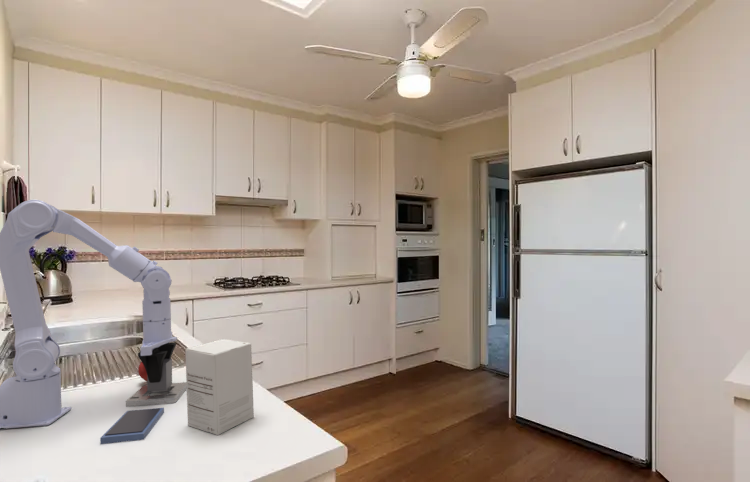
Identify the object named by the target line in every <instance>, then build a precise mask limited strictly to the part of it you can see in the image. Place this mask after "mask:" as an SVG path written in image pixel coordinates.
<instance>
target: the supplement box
mask: <svg viewBox="0 0 750 482" xmlns="http://www.w3.org/2000/svg"><path fill="white" fill-rule="evenodd" d="M184 350H185V351H184V352H185V374H186V375H185V377H186V381H185V382H186V383H187V389H186V408H187V426H188V427H191V428H195V429H197V430H201V431H204V432H207V433H209V434H213V435H217V436H219V435H221V434H222V433H224V432H227V431H229V430H231V429H232V428H235V427H236V426H238V425H240V424H243V423H244V422H246V421H249V420H251V419H252V418H254V417H255V415H254V414H255V413H254V411H255V410H254V409H255V408H254V383H253V381H254V380H253V359H252V358H253V356H252V353H253V351H252V343H251V342H245V341H238V340H233V339H227V338H221V339H217V340H215V341H210V342H206V343H203V344H200V345H196V346H192V347H187V348H185V349H184Z"/></svg>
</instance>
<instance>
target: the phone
mask: <svg viewBox="0 0 750 482" xmlns="http://www.w3.org/2000/svg"><path fill="white" fill-rule="evenodd" d="M164 413H165V408H164V407H155V408H145V409H142V408H141V409H131V410H126V411H125V412H124V413H123V414H122V415H121V417H119V418H118V420H116V421H115V422H114V423H113V425H111V426H110V427H109V428H108V429H107V431H106V432H104V434H103V435H102V436H100V438H99V439H100V442H99V443H100V445H107V444H115V443H116V444H117V443H126V442H133V441H134V442H135V441H143V440H144V441H145V439H146V437H147V436H148V435H149V434H150V432H151V431H152V429H154V427H155V425H156V424H157V423H158V421H159V420H160V419H161V418H162V416H163V415H164Z"/></svg>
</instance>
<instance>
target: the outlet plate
mask: <svg viewBox="0 0 750 482" xmlns="http://www.w3.org/2000/svg"><path fill="white" fill-rule="evenodd" d="M185 391H187V383H186V381H183V382H172V385H171V386H170V387H169V388H168V389H167V390H161V391H147V384H146V385H142V386H141V387H140V388H139V389H138V390H136V391H135V393H133V394H132V396H130V397H129V398H128V399H127V400H125V407H126V408H127V407H140V406H151V405H154V406H155V405H165V404H166V405H167V404H176V403H177V401H178V400H179V399H180V398H181V397H182V395H183V394H184V393H185ZM156 393H157V394H156ZM158 393H166V394H158ZM167 393H168V394H167ZM150 394H156V395H150Z"/></svg>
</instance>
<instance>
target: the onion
mask: <svg viewBox="0 0 750 482" xmlns="http://www.w3.org/2000/svg"><path fill="white" fill-rule="evenodd" d="M137 373H138V375H139V377H140V378H141V379H142V380H144V381H145V382H147V373H146V370H145V367H144V365H143V363H142V362H141V361H140V363H139V366H138V369H137Z"/></svg>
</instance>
